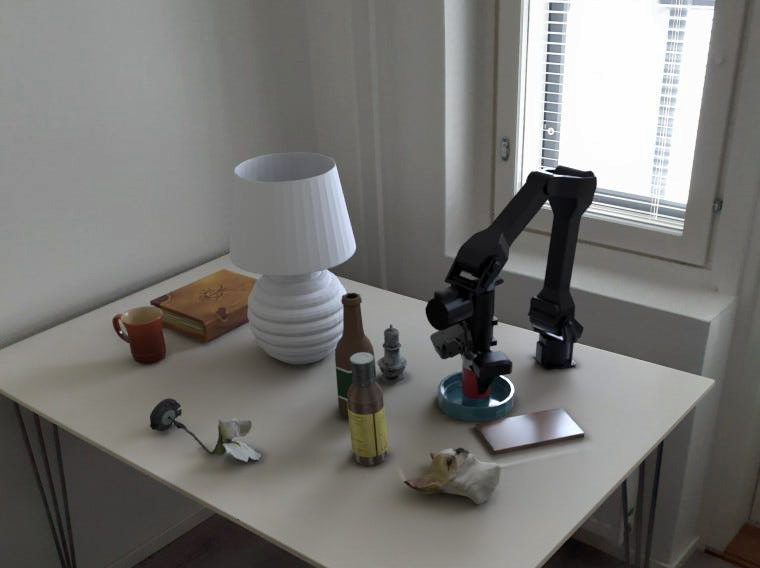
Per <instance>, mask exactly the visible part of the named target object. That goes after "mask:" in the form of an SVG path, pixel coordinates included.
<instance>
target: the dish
mask: <svg viewBox="0 0 760 568" xmlns="http://www.w3.org/2000/svg"><path fill="white" fill-rule="evenodd" d="M515 392H516V391H515V387H514V384H513V382H511V380H510V379H509V378H507V377H505V375H502V376H496V377H495V378H494V380H493V381H492V383H491V385H490V399H489V403H488V405H486V406H484V407H470V406H466V405H464V404H463V402H462V370H461V371H456V372H453V373H451V374H449V375H447V376H445V377H444V378H443V379H441V380H440V382H439V384H438V385H437V405H438V407H439V408H440V410H441V412H443V413H444V414H446V415H447V416H449V417H451V418H454V419H456V420H459V421H465V422H472V423H484V422H489V421H494V420H499V419H501V418H502V417H505V416H506V415H507V414H509V413H510V412H511V411H512V410H513V407H514V405H515Z"/></svg>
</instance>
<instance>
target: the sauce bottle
mask: <svg viewBox="0 0 760 568" xmlns="http://www.w3.org/2000/svg"><path fill="white" fill-rule="evenodd" d="M374 357H375V355H374V356H373V355H372V354H370V353H366V352H361V353H356V354H354V355H352V356H351V357H350V367H351V369H352V384H351V386H350V388H349V390H348V393H347V399H348V401H347V405H348V416H349V420H348V425H349V436H350V444H351V451H352V457H353V459H354V461H355V462H357V463H358V464H360V465H362V466H367V467H370V466H375V465H380V464H381V463H383V462H384V461H385V460H386V458H387V456H388V438H387V437H388V436H387V424H386V423H387V422H386V409H385V402H384V392H383V390H382V387H381V386H380V385H379V384H378V382H377V380H376V381H375V375H374V364H375V365H376V361H375V362H374Z"/></svg>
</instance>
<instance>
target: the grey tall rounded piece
mask: <svg viewBox="0 0 760 568" xmlns="http://www.w3.org/2000/svg"><path fill="white" fill-rule="evenodd" d="M383 340H384V342H383V344H382V348H383V351H384V354H383V356H382V357H381V358H379V359H378V361H377V366H378V368H379V370H380V372H381V373H382V374H381V380H382V381H383V382H385V383H389V384H390V383H391V384H392V383H398V382H401V381H403V380H404V379H405V374H404V371H405V369H406V366H407V365H408V360H407V359H406V358H405V357H404V356H401V352H400V351H401V350H400V349H401V347H402V344H401V343H400V333H399V330H398V329H397V328H396V327H394V325H392V324H390V325H389V326H388V328H385V329H384V332H383Z"/></svg>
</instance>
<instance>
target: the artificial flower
mask: <svg viewBox="0 0 760 568" xmlns="http://www.w3.org/2000/svg"><path fill="white" fill-rule="evenodd" d="M181 407H182V406H181V404H180V403H179V402H178V401H177V400H176V399H175V398H169V397H168V398H165V399H162V400H161V401H159V402H158V403H157V404H156V405H155V406H154V408H153V410H151V413H150V415H149V423H150V424H149V427H150V428H151V430H152V431H158V432H159V433H160V432H161V433H163V432H165V431H166V430H167V429H169V428H171V427H172V426H174V427H176V428H177V429H179V430H180V429H182V430H184V431H185V432H186V433H187V434H189V436H191V437H192V438H193V439H194V440H195V441H196V442H197V443H198V444H199V446H201V448H202V449H203V450H204V451H205V452H206V454H209V455H210V456H214V455H220V456H221V455H224V454H226V453H227V454H230V455H231V456H232V457H234V458H235V459H237V460H240V461H243V462H245V463H248V462H249V459H251V460H254V461H260V458H261V454H260V453H259V452H257V451H255V450H254V449H253V448H252V447H251V446H250V445H247V444H245V443H244V442H242V441H238V440H237V439H236V440H233V439H235V438H240V437H242V438H243V437H245V436H247V435H248V434H249V433H250V431H251V429H253V421H252V420H249V419H246V420H245V419H240V418H238V417H232V418H231V419H230V420H229V421H224V420H221V419H218V425H217V431H218V437H217V442H216V444H215V447H214V449H213V450H212V451H210V450H209V449H208V448H207V446H206V445H205V444H204V443H203V442H202V441H201V440H200V439H199V438H198V437H197V436H196V434H195V433H193V431H190V430H189V429H188V427H187V426H186V425H185V424H184V423H182V422H180V421H178V420H177V418H178V417H181V416H182V414H183V410H182V408H181Z"/></svg>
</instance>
